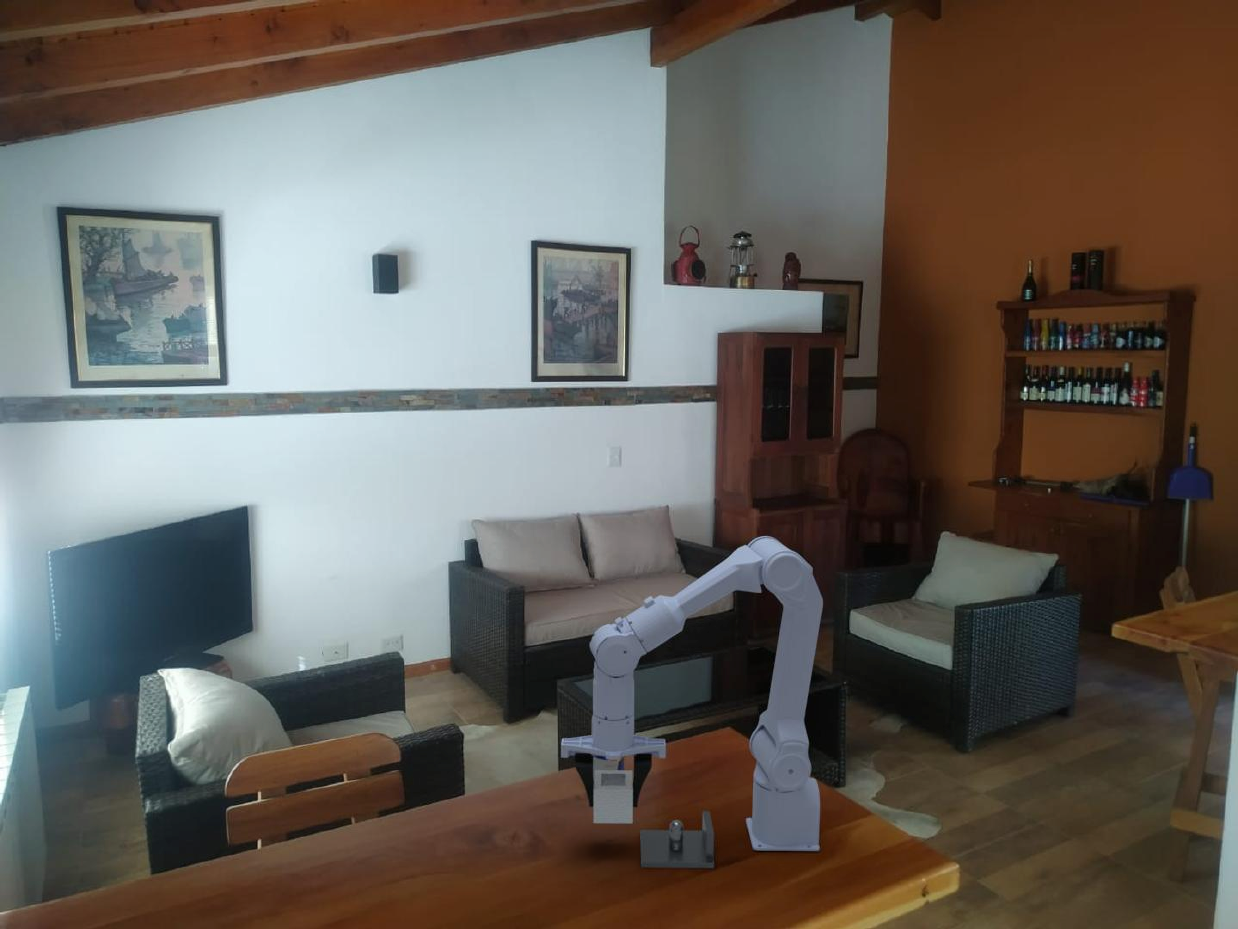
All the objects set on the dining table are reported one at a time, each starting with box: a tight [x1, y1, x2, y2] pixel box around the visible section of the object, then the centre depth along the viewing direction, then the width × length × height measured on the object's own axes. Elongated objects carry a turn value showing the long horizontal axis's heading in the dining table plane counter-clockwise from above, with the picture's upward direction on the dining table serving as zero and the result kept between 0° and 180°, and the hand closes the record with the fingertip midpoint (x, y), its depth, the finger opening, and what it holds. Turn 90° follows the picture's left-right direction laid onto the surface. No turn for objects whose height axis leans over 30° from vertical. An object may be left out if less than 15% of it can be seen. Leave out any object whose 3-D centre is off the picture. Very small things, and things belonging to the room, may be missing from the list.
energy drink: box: [591, 715, 625, 778], centre depth 144 cm, size 5×5×12 cm
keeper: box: [639, 810, 715, 869], centre depth 126 cm, size 10×8×5 cm
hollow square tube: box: [593, 769, 634, 824], centre depth 125 cm, size 5×5×5 cm
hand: (613, 803), depth 125 cm, fingers closed on hollow square tube, 5 cm apart
